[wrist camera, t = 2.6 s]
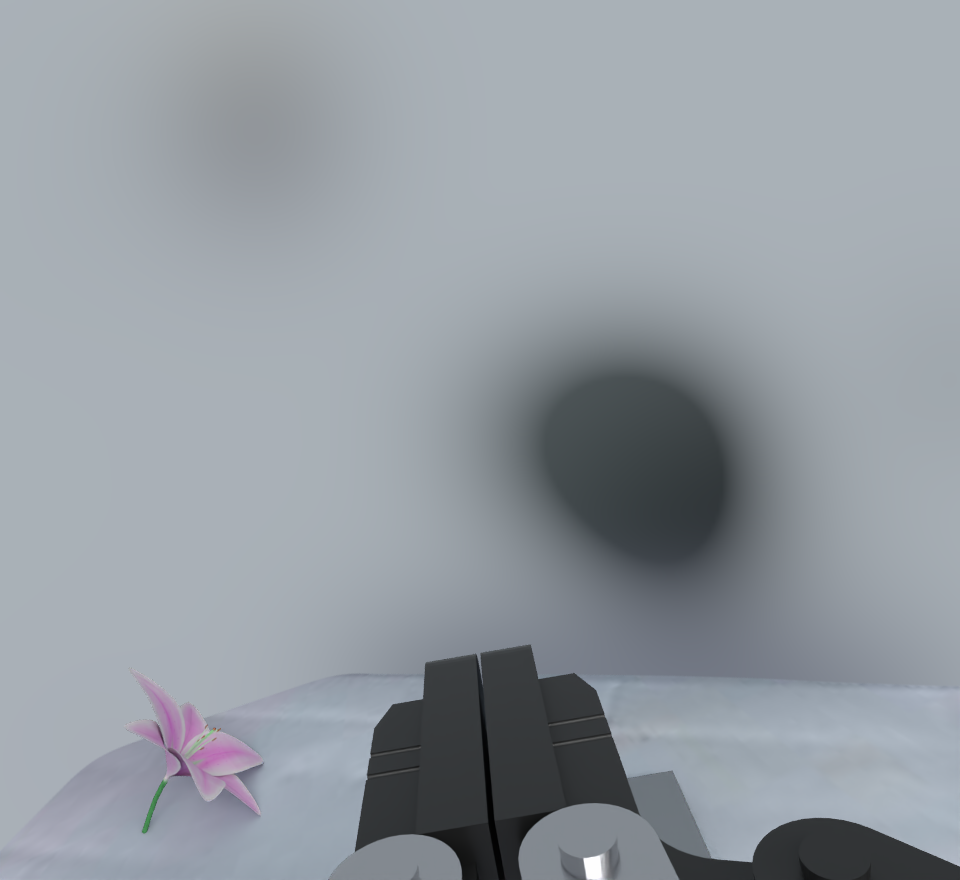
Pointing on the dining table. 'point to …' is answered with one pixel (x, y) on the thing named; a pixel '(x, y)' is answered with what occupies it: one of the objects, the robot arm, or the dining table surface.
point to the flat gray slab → (668, 812)
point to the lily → (193, 748)
